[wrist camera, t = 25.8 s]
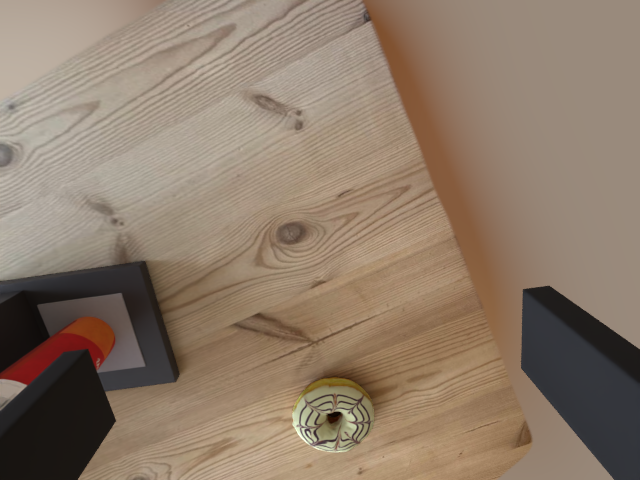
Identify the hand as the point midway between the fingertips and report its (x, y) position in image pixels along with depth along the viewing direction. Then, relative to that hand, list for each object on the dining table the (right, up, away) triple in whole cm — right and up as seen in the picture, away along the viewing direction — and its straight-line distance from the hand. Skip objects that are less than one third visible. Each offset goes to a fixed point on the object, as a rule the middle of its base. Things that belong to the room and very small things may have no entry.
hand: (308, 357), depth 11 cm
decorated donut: (+2, -19, +39) cm, 44 cm away
